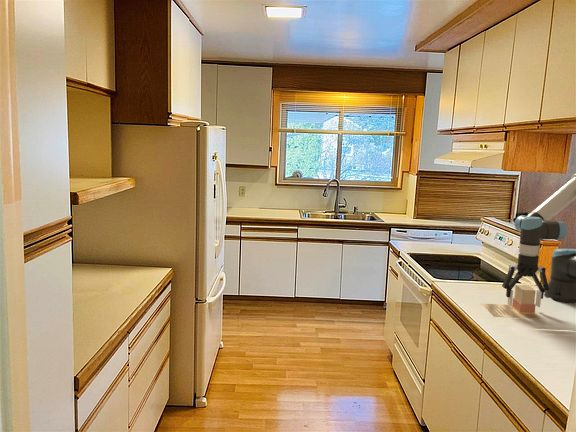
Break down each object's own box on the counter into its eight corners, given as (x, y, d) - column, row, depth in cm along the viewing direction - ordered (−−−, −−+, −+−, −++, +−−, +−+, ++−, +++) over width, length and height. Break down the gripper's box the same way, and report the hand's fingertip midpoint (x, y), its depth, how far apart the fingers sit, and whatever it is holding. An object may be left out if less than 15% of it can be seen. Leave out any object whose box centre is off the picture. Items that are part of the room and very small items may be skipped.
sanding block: (526, 307, 205) (528, 285, 203) (535, 314, 196) (537, 290, 195) (511, 306, 205) (513, 284, 204) (519, 313, 197) (521, 290, 195)
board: (523, 306, 208) (523, 305, 207) (539, 319, 192) (540, 318, 192) (481, 304, 209) (481, 303, 209) (493, 317, 193) (494, 316, 193)
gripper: (553, 253, 200) (548, 303, 203) (496, 251, 202) (492, 301, 205) (562, 257, 193) (556, 309, 196) (503, 255, 194) (498, 307, 198)
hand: (523, 305), depth 200 cm, fingers open, 11 cm apart
